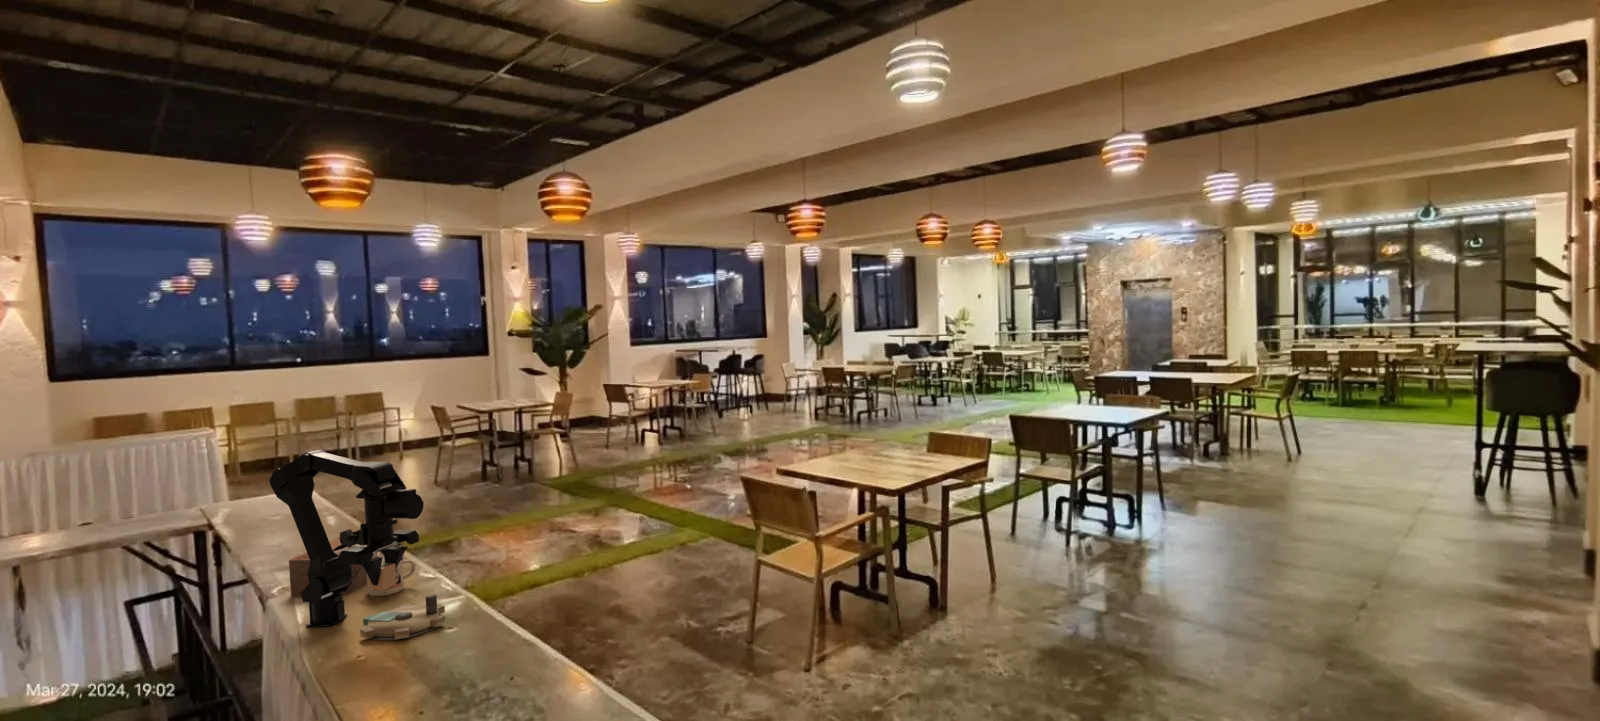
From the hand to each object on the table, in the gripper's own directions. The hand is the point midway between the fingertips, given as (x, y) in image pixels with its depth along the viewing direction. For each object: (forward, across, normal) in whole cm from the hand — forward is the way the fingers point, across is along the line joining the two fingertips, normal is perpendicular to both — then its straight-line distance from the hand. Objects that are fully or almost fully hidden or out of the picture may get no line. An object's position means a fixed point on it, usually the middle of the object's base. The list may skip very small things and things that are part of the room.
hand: (382, 582), depth 182 cm
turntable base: (+11, -1, +4) cm, 12 cm away
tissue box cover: (+12, -27, -38) cm, 48 cm away
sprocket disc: (+11, -1, +4) cm, 12 cm away
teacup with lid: (+11, -22, -18) cm, 31 cm away
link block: (+1, 0, 0) cm, 1 cm away
